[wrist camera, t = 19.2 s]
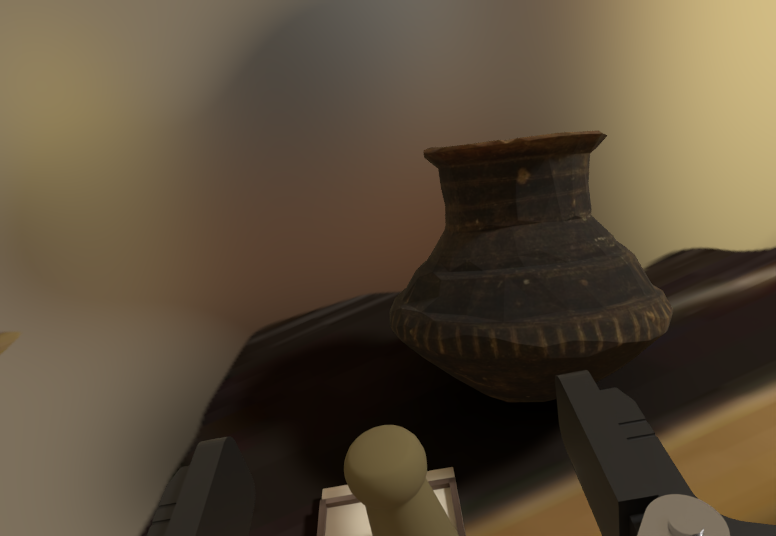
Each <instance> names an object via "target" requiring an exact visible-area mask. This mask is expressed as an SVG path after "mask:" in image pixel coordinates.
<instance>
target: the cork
mask: <svg viewBox="0 0 776 536" xmlns="http://www.w3.org/2000/svg"><path fill="white" fill-rule="evenodd" d="M426 474H427V461H426V454H425V451H424V448H423V446H422V445H421V443H420V442H419V440H418V439H417V437H416V436H415V435H414V434H413V433H411V432H410V431H408V430H407V429H405V428H403V427H400V426H396V425H382V426H378V427H374V428H372V429H370V430H368V431H366V432H364V433H363V434H361V435H360V436H359V437H358V438H356V439H355V441H354V442H353V443H352V444H351V446H350V447H349V450H348V452H347V455H346V458H345V461H344V475H345V479H346V482H347V484H348V487H349V489H350V491H351V493H352V494H353V495H354V496H355V497H356V498H357V499H358V500H359V501H360V502H361V503H362V504H363V505H365V507H366V511H367V515H368V520H369V524H370V528H371V532H372V536H459V535H458V533H457V531H456V529H455V528H454V526H453V524H452V523H451V521H450V519H449V517H448V516H447V514H446V512H445V510H444V509H443V507H442V505H441V503H440V502H439V500H438V498H437V496H436V495H435V493H434V491H433V489H432V488H431V486H430V484H429V482H428V481H427V479H426Z"/></svg>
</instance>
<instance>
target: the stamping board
mask: <svg viewBox="0 0 776 536" xmlns="http://www.w3.org/2000/svg"><path fill="white" fill-rule="evenodd" d="M426 479H427V481H428V482H429V484H430V486H431V488H432V489H433V491H434V493H435V495H436V496H437V498H438V500H439V502H440V503H441V505H442V507H443V509H444V510H445V512H446V514H447V516H448V517H449V519H450V521H451V523H452V524H453V526H454V528H455V529H456V531H457V533H458V535H459V536H466V535H465V529H464V524H463V519H462V513H461V508H460V502H459V497H458V491H457V486H456V481H455V475H454V470H453V467H449V468H443V469H437V470H431V471H427V474H426ZM317 536H372V532H371V528H370V524H369V520H368V515H367V511H366V507H365V505H363V504H362V503H361V502H360V501H359V500H358V499H357V498H356V497H355V496H354V495H353V494H352V493H351V491H350V489H349V487H348V485H343V486H338V487H332V488H326V489H323V493H322V499H321V500H320V506H319V517H318V528H317Z"/></svg>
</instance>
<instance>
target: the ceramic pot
mask: <svg viewBox="0 0 776 536" xmlns="http://www.w3.org/2000/svg"><path fill="white" fill-rule="evenodd" d="M606 136H607V135H605V134H603V133H601V132H600V131H585V132H564V133H554V134H547V135H539V136H531V137H523V138H516V139H510V140H504V141H503V140H497V141H489V142H482V143H474V144H467V145H459V146H451V147H436V148H428V149H426V150H424V157H425V158H426V159H427V160H428V161H429V162H431V163H432V164H433V165H434V166H436V167H437V168H438V169H439V177H440V183H441V190H442V193H443V198H444V202H445V213H446V214H445V216H446V218H445V219H446V226H445V230H444V232H443V234H442V236H441V237H440V239H439V241H438V243H437V245H436V246H435V248H434V250H433V252H432V253H431V255H430V256H429V258H428V259H427V261H425V262H424V263H423V264H422V265H421V266H420V267H419V268H418V269H417V270H416V272H415V273H414V275H413V277H412V279H411V280H410V282H409V284H408V286H407V288H406V289H404V290H403V291H402V292H401V293H400V294H399V295H398V296H397V297H396V298H395V300H394V302H393V305H392V307H391V309H390V326H391V328H392V330H393V332H394V333H395V334H396V335H397V337H398V338H399V339H400V340H401V341H402V342H403V343H404V344H406V345H407V346H408V347H410V348H411V349H412V350H414V351H415V352H416V353H418V354H419V355H420V356H422V357H423V358H425V359H426V360H428V361H429V362H431V363H432V364H434V365H436V366H437V367H439V368H440V369H442V370H443V371H445V372H446V373H448V374H450V375H451V376H453V377H454V378H456V379H458V380H460V381H462V382H463V383H465V384H467V385H469V386H471V387H472V388H474V389H476V390H478V391H480V392H481V393H483V394H485V395H487V396H490V397H493V398H496V399H499V400H503V401H506V402H546V401H551V400H555V399H557V397H556V387H555V376H556V375H562V374H567V373H572V372H577V371H583V370H588V371H589V373H590V374H591V376H592V378H593V379H594V381H595V383H596V382H598V381H599V380H601V379H603V378H605V377H606V376H608V375H610V374H612V373H614V372H615V371H617V370H619V369H620V368H622V367H623V366H624V365H625V364H627V363H628V362H629V361H631V360H632V359H633V358H635V357H636V356H637V355H639V354H640V353H641V352H642V351H643V350H645V349H646V348H647V347H648V346H650V345H651V344H652V343H653V342H654V341H656V340H657V339H658V338H659V337H661V336H662V335H663V334H664V333H665V332H667V330H668V327H669V324H670V320H671V317H672V313H673V309H672V307H671V305H670V303H669V301H668V299H667V298H666V296H665V294H664V292H663V291H662V290H660V289H659V288H657V287H656V286H654V285H652V284H651V282H650V280H649V279H648V277H647V275H646V274H645V272H644V270H643V268H642V267H641V265H640V263H639V262H638V260H637V258H636V256H635V255H634V254H633V253H632V252H631V251H630V250H628V249H627V248H626V247H625V246H623V245H622V244H620V243H619V242H618V241H616V239H615V238H614V237H613V236H612V235H611V234H610V233H609V232H608V231H607V230H606V229H605V228H604V227H603V226H602V225H601V224H600V223H599V222H597V220H595V218H594V217H592V216H591V203H590V194H589V186H588V179H589V158H590V153H591V152H592V151H593V150H594V149H596V148H597V147H598V145H599V144H600V143H601V142H602V141H603V140H604V139H605V137H606Z"/></svg>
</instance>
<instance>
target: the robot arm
mask: <svg viewBox="0 0 776 536" xmlns="http://www.w3.org/2000/svg"><path fill="white" fill-rule="evenodd" d="M555 387H556V397H557V408H558V419H559V426H560V431H561V435H562V439H563V442H564V445H565V448H566V451H567V453H568V455H569V458H570V460H571V462H572V465H573V467H574V470H575V472H576V474H577V477H578V479H579V481H580V484H581V486H582V489H583V491H584V493H585V496H586V498H587V500H588V503H589V505H590V508H591V510H592V512H593V515H594V517H595V519H596V522H597V524H598V527H599V529H600V531H601V534H602V536H776V525H768V524H760V523H752V522H744V521H739V520H735V519H731V518H728V517H726V516H723V515H721V514H719V513H718V512H717V511H716V510H715V509H714V508H713V507H711V506H710V505H709V504H707V503H705V502H703V501H702V500H699V499H698V498H697V497H696V496H695V495H694V494H693V492H692V491H691V490H690V488H689V486H688V485H687V483H686V482H685V480H684V479H683V477H682V475H681V474H680V472H679V471H678V469H677V467H676V466H675V464H674V463H673V461H672V460H671V458H670V456H669V455H668V453H667V452H666V450H665V448H664V447H663V445H662V444H661V442H660V441H659V439H658V437H656V436H655V433H654V431H653V429H652V428H651V426H650V425H649V423H648V422H646V418H645V417H644V415H643V414H642V412H641V410H640V409H639V407H638V406H637V404H636V403H635V401H634V400H633V399H631V398H630V397H628V396H627V395H626V394H624V393H623V392H622V391H620V390H619V389H617V388H616V387H615V388H610V389H604V390H599V388H598V386H597V385H596V383H595V381H594V379H593V378H592V376H591V374H590V373H589V371H588V370H583V371H577V372H572V373H567V374H562V375H556V376H555ZM254 505H255V485H254V481H253V478H252V475H251V473H250V471H249V469H248V467H247V465H246V463H245V461H244V459H243V457H242V455H241V452H240V450H239V448H238V446H237V444H236V442H235V440H234V439H233V438H232V437H224V438H218V439H213V440H208V441H203V442H200V443H199V444H198V445H197V448H196V450H195V453H194V456H193V458H192V461H191V464H190V466H186V467H181V468H180V469H179V471H178V472H177V473H176V475H175V476H174V477H173V478H172V480H171V481H170V482H169V483H168V485H167V486H166V488H165V491H164V493H163V496H162V498H161V501H160V503H159V509H158V510H157V511H156V514H155V516H154V519H153V521H152V523H153V525H152V526H150V529H149V531H148V534H147V536H248V534H249V529H250V524H251V520H252V515H253V510H254Z"/></svg>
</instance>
